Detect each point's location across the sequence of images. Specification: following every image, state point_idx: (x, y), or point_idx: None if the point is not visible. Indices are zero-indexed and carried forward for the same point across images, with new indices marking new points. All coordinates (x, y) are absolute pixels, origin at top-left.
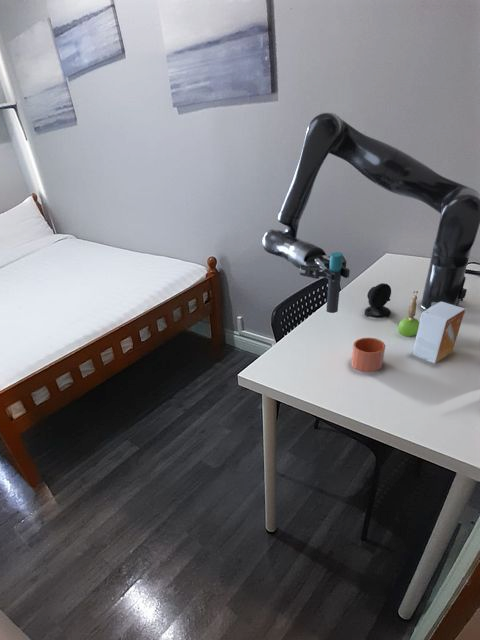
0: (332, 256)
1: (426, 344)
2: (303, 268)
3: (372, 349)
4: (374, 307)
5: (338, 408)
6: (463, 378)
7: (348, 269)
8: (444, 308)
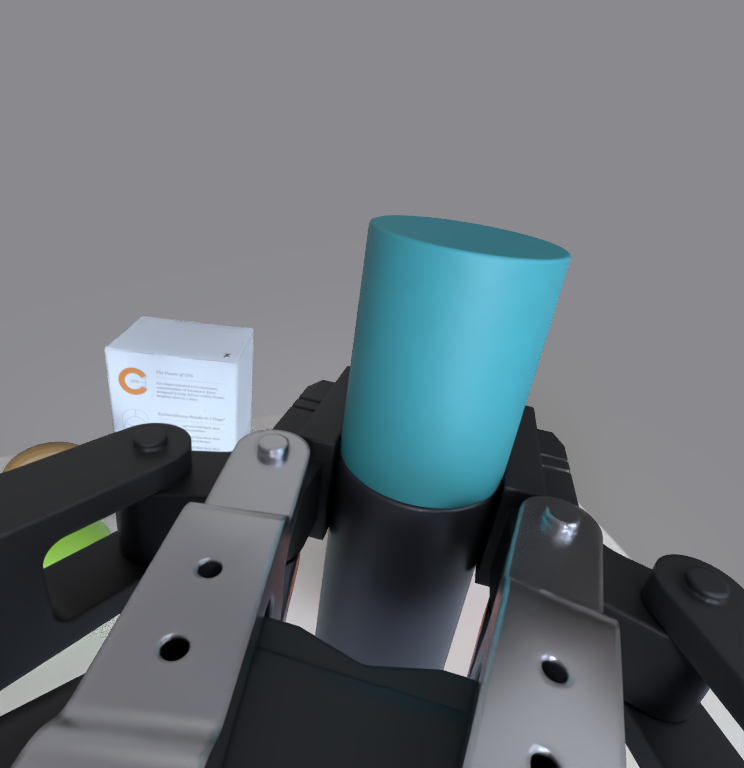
0: (565, 251)
1: None
2: None
3: None
4: None
5: (607, 545)
6: (264, 428)
7: (348, 367)
8: (169, 336)
